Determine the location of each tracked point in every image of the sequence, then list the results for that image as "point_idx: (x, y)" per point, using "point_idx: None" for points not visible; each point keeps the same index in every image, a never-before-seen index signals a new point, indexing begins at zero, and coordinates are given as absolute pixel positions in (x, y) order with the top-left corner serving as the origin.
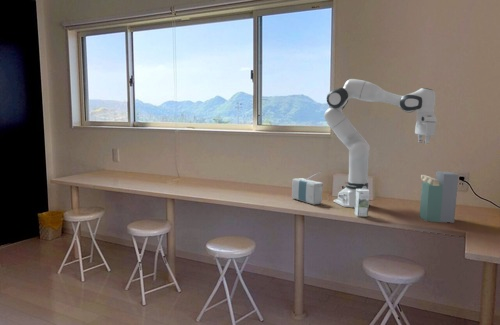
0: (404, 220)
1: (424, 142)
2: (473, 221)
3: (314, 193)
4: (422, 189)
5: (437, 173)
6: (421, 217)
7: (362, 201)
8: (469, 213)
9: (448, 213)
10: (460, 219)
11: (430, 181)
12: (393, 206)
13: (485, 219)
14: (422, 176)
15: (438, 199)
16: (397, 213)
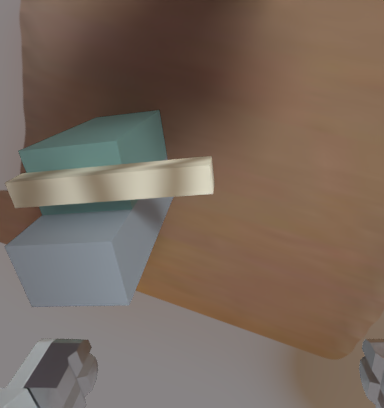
0: (81, 37)
1: (72, 352)
2: (154, 255)
3: None
4: (116, 133)
5: (97, 236)
6: (138, 112)
7: None
8: (253, 278)
9: None
10: (166, 230)
11: (61, 173)
12: (326, 29)
13: (188, 290)
14: (185, 165)
15: None
16: (187, 26)
